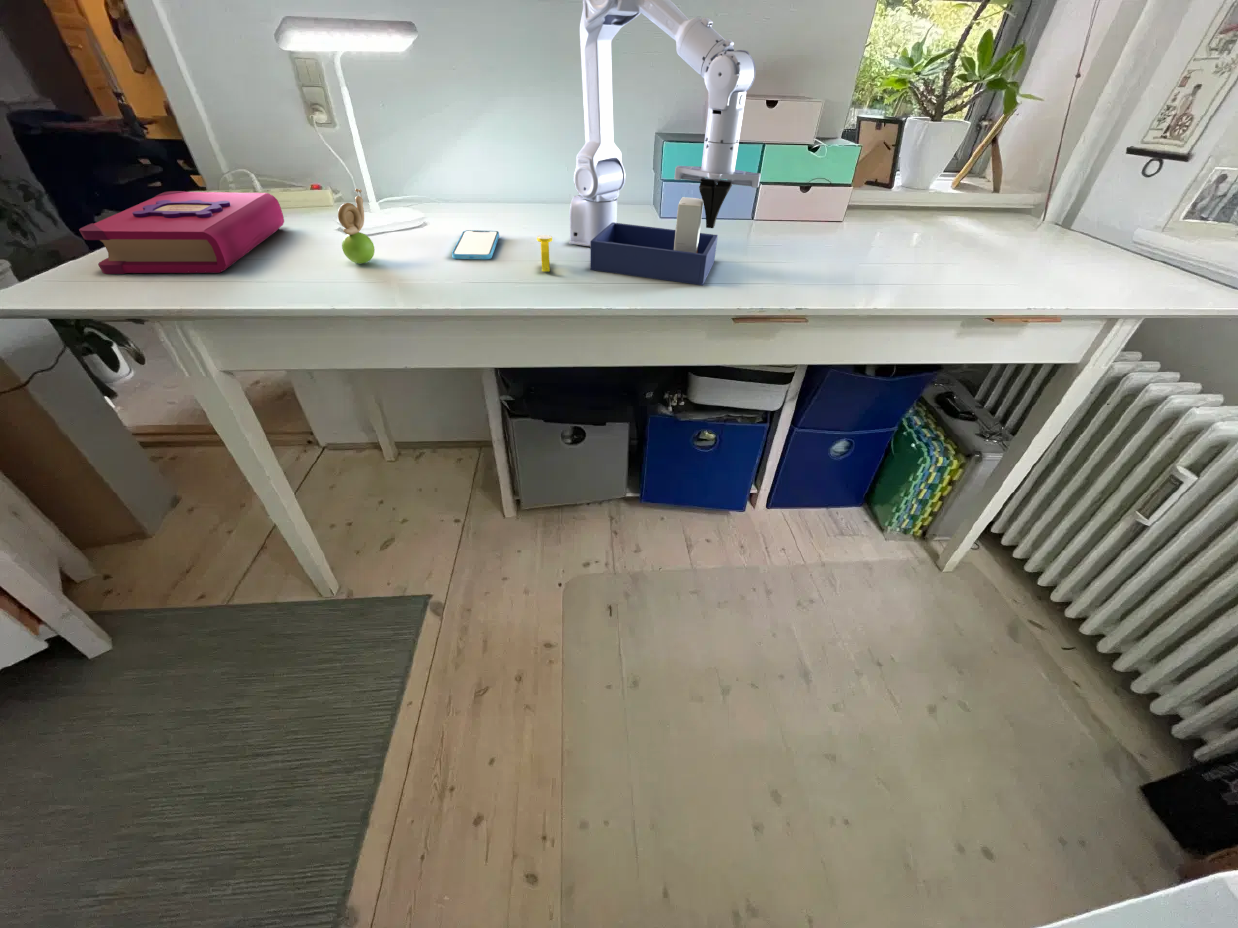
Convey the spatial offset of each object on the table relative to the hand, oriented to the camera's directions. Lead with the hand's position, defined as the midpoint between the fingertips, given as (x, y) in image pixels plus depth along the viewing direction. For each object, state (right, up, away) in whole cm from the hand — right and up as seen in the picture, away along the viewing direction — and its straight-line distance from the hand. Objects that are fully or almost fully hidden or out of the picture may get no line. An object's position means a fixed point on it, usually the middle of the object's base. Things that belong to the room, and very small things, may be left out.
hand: (710, 226), depth 100 cm
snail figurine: (-65, -5, +3) cm, 65 cm away
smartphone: (-46, +1, +12) cm, 47 cm away
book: (-97, -2, +6) cm, 97 cm away
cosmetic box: (-4, -6, +6) cm, 9 cm away
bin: (-10, -5, +7) cm, 13 cm away
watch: (-30, -7, +3) cm, 31 cm away
